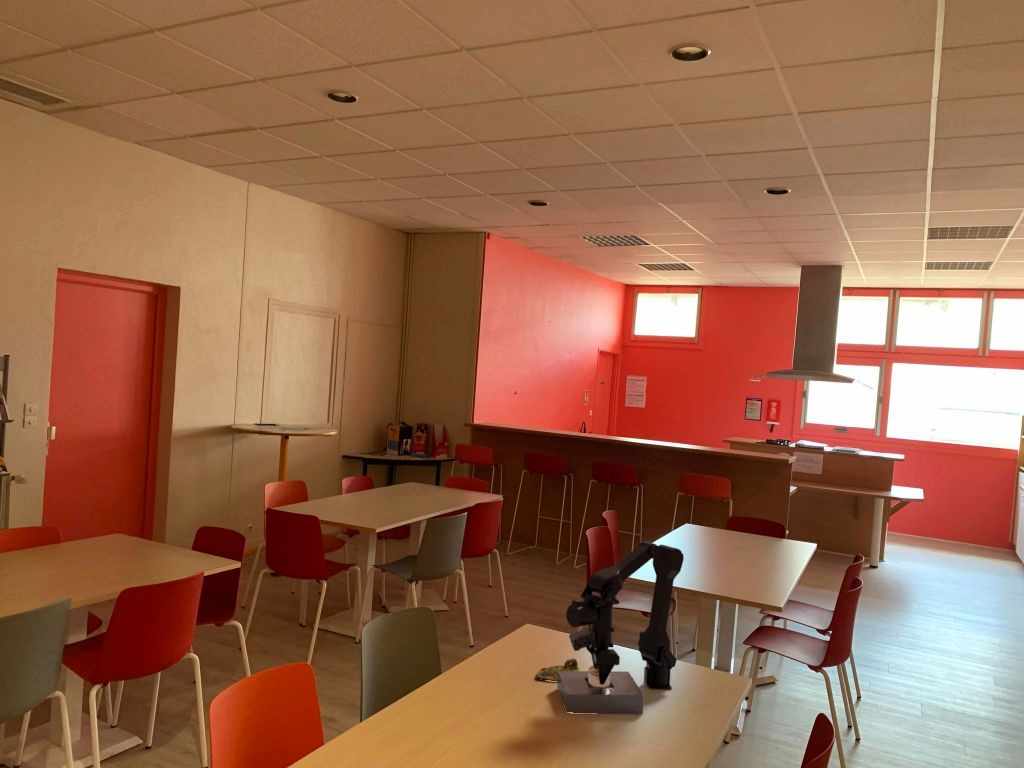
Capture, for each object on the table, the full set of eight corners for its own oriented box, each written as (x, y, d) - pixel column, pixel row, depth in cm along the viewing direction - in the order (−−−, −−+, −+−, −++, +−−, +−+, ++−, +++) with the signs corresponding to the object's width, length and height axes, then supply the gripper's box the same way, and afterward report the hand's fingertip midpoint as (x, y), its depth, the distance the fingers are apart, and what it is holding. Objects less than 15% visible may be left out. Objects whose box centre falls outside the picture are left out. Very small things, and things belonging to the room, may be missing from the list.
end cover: (607, 695, 206) (608, 665, 206) (612, 704, 200) (613, 673, 200) (585, 695, 205) (586, 665, 205) (589, 704, 199) (591, 673, 199)
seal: (546, 690, 211) (587, 679, 220) (548, 674, 211) (588, 664, 220) (527, 675, 219) (567, 666, 228) (528, 660, 219) (568, 651, 227)
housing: (627, 689, 211) (628, 671, 211) (642, 714, 195) (643, 694, 195) (557, 689, 209) (557, 671, 209) (566, 714, 193) (567, 694, 193)
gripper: (566, 610, 211) (564, 666, 211) (578, 632, 192) (576, 693, 192) (605, 611, 212) (603, 666, 212) (621, 633, 193) (618, 693, 193)
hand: (599, 679), depth 202 cm, fingers closed on end cover, 6 cm apart
